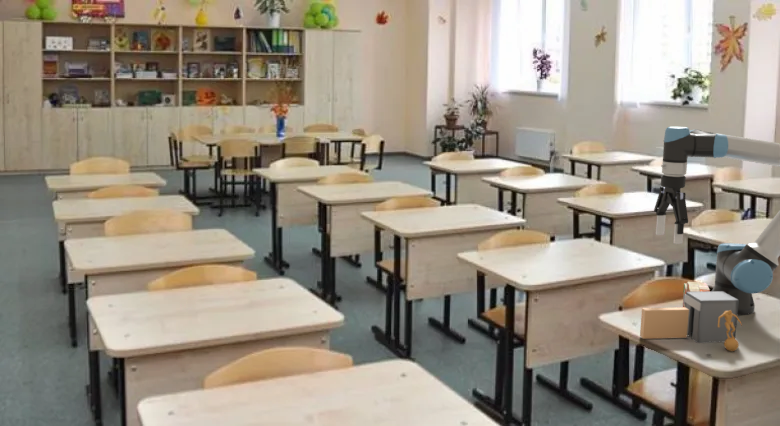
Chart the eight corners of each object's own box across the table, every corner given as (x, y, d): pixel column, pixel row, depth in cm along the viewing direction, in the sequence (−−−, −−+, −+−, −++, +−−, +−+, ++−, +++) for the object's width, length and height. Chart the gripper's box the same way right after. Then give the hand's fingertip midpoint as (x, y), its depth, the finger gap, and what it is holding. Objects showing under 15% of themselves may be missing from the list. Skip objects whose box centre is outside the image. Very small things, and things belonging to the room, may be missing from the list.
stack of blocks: (681, 308, 292) (684, 274, 290) (701, 310, 291) (704, 275, 289) (687, 327, 272) (690, 290, 270) (707, 329, 271) (710, 292, 268)
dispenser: (718, 331, 268) (722, 291, 266) (734, 341, 259) (738, 300, 256) (681, 332, 267) (684, 291, 265) (696, 342, 257) (699, 300, 255)
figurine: (723, 354, 247) (726, 314, 245) (710, 347, 253) (713, 308, 251) (747, 351, 250) (750, 312, 248) (733, 345, 255) (737, 307, 253)
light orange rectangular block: (683, 335, 263) (685, 307, 261) (686, 337, 261) (689, 309, 259) (639, 336, 262) (641, 308, 260) (643, 338, 259) (645, 310, 258)
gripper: (646, 169, 285) (642, 231, 289) (679, 180, 260) (674, 247, 264) (668, 169, 285) (663, 231, 289) (702, 180, 261) (697, 247, 265)
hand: (668, 239), depth 277 cm, fingers open, 13 cm apart
